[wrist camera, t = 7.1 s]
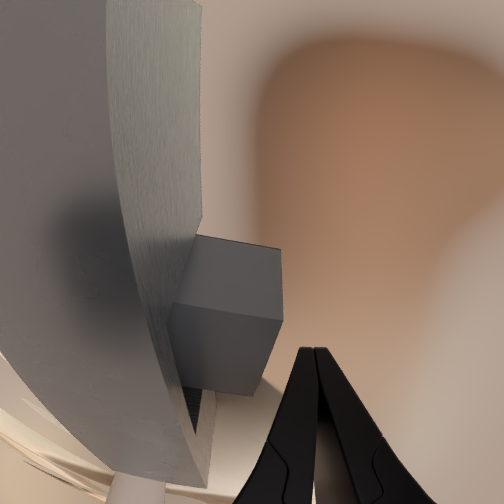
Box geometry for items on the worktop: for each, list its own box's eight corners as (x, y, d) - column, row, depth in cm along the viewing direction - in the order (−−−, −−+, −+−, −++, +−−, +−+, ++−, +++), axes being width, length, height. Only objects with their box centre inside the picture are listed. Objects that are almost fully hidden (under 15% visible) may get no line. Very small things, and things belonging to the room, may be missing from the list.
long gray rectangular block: (201, 6, 6) (109, -45, 2) (216, 407, 16) (206, 488, 12) (38, 37, 6) (-99, 70, 2) (132, 395, 16) (112, 470, 12)
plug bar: (280, 248, 10) (283, 320, 8) (256, 330, 12) (253, 396, 10) (-30, 196, 9) (-74, 236, 7) (-9, 269, 12) (-41, 311, 9)
